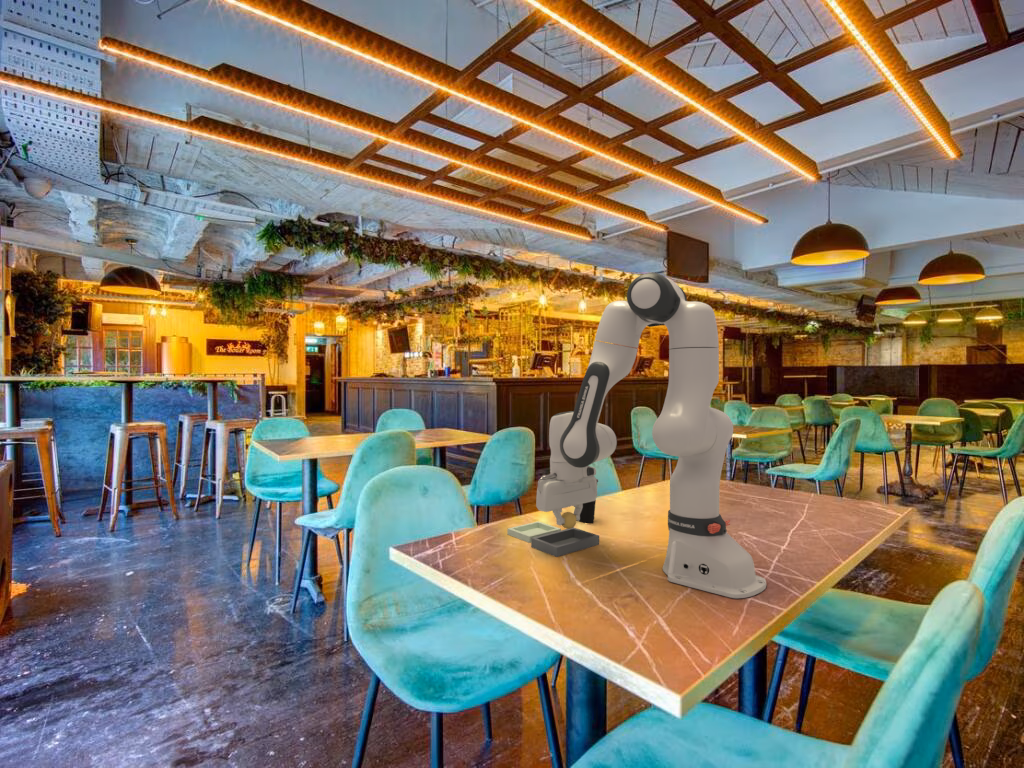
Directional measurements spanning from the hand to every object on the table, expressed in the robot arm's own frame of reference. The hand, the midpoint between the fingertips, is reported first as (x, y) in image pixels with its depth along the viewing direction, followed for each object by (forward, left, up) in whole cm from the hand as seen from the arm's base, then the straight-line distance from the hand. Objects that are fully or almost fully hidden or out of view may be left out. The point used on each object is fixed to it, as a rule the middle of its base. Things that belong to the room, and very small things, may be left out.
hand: (568, 522), depth 139 cm
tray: (+14, 0, -7) cm, 16 cm away
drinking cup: (+15, -23, -7) cm, 28 cm away
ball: (0, 0, -2) cm, 2 cm away
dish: (+1, 0, -7) cm, 7 cm away
